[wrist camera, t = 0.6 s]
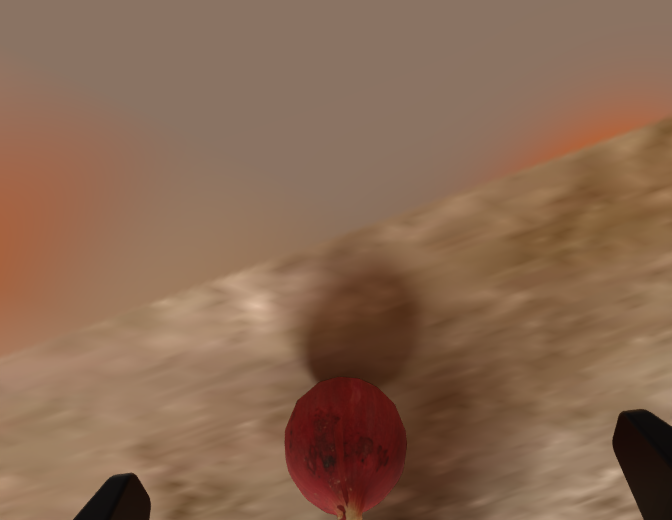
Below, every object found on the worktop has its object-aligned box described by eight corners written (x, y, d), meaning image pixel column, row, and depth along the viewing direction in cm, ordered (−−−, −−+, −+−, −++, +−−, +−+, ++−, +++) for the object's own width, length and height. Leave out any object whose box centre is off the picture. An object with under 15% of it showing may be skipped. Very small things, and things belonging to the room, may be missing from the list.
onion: (273, 365, 25) (252, 494, 18) (375, 332, 25) (396, 451, 17) (313, 442, 27) (308, 584, 20) (408, 414, 27) (439, 550, 19)
